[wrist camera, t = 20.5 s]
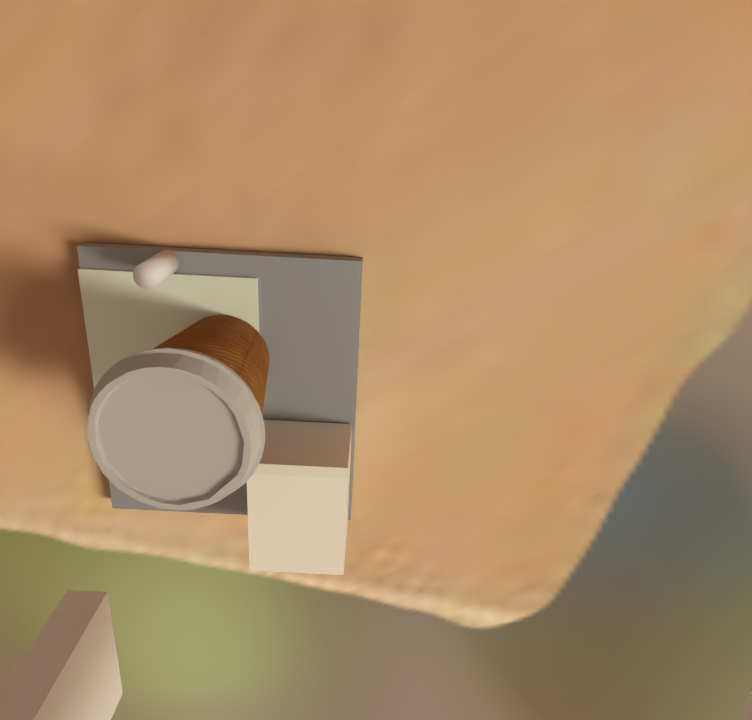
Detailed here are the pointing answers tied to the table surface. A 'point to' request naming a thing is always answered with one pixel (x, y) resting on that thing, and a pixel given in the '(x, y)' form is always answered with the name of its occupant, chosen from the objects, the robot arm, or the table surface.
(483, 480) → the table surface
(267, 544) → the block
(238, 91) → the table surface
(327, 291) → the board
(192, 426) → the disposable coffee cup
